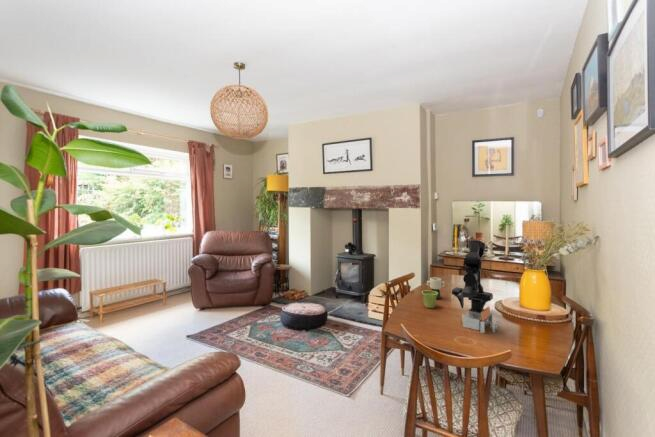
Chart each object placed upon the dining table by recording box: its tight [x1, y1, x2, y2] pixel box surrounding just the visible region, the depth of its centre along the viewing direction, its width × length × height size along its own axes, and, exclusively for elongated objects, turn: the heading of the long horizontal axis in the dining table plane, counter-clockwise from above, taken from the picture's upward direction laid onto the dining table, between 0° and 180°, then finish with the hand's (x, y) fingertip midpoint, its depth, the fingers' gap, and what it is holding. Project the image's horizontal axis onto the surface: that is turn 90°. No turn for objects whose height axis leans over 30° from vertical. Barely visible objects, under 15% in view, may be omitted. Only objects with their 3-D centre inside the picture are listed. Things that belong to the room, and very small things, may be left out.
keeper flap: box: [481, 306, 491, 321], centre depth 165 cm, size 12×5×1 cm
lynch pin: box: [460, 313, 492, 328], centre depth 168 cm, size 4×13×4 cm, turn 49°
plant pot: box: [421, 289, 438, 309], centre depth 199 cm, size 9×9×9 cm
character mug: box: [426, 276, 445, 300], centre depth 215 cm, size 11×7×13 cm, turn 74°
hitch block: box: [462, 311, 499, 334], centre depth 167 cm, size 14×14×6 cm
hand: (471, 310), depth 170 cm, fingers open, 9 cm apart
